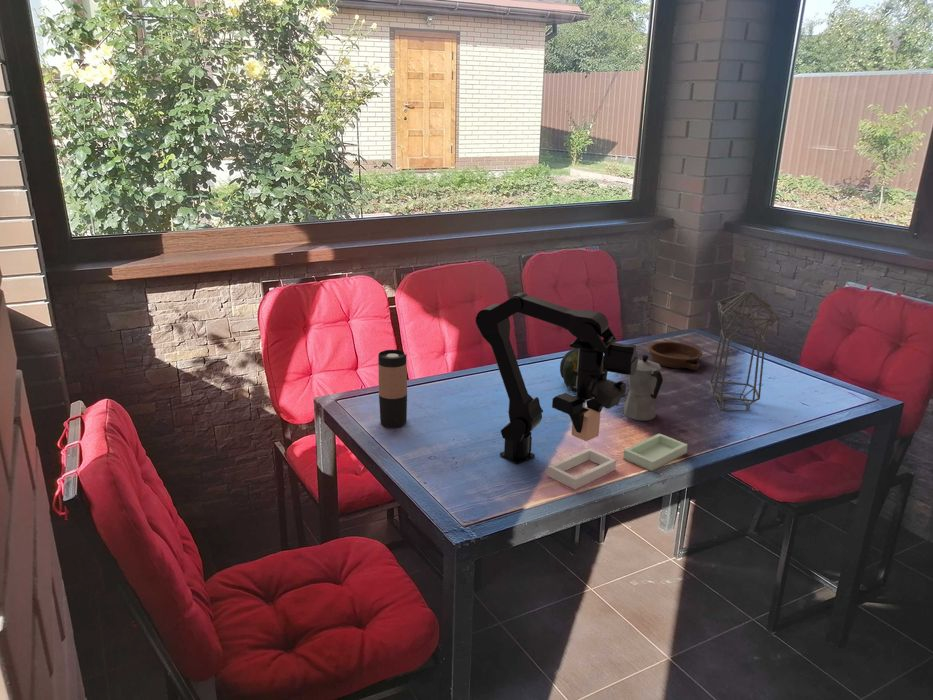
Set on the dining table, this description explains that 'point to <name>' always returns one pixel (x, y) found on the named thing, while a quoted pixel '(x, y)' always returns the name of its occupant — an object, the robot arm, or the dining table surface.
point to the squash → (571, 367)
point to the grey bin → (575, 482)
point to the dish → (675, 355)
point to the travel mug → (392, 388)
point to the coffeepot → (643, 390)
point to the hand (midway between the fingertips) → (585, 429)
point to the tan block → (588, 426)
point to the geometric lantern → (772, 318)
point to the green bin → (655, 452)
